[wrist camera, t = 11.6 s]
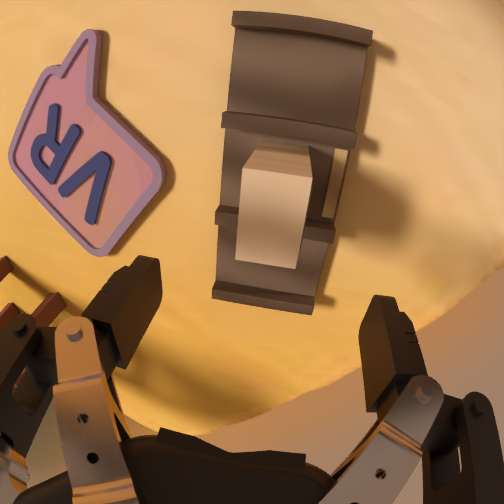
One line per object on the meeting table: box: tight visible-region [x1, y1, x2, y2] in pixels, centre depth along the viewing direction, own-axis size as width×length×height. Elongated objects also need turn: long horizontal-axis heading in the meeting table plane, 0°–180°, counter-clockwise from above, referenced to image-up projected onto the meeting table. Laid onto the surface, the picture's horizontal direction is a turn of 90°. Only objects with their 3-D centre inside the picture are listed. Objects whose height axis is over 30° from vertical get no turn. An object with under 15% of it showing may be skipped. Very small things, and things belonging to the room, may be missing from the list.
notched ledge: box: [212, 11, 373, 315], centre depth 24 cm, size 26×10×2 cm, turn 174°
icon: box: [8, 29, 166, 257], centre depth 26 cm, size 19×1×20 cm
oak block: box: [235, 139, 313, 269], centre depth 20 cm, size 6×4×9 cm, turn 175°
